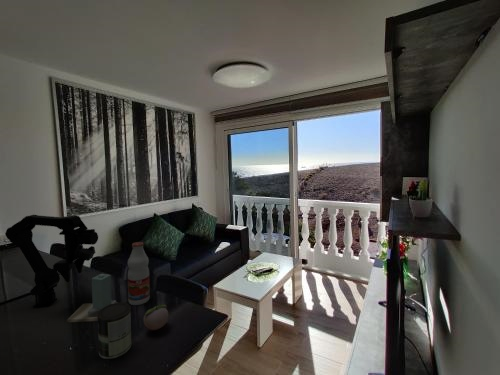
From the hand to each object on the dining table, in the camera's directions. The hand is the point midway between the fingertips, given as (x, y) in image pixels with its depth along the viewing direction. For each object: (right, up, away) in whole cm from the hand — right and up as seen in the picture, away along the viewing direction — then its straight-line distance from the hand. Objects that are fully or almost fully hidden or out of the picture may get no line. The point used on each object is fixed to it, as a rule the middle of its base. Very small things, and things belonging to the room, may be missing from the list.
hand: (74, 277), depth 115 cm
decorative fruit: (+44, -15, -16) cm, 49 cm away
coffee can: (+33, -16, -26) cm, 45 cm away
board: (+13, -14, -5) cm, 19 cm away
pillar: (+17, -10, -6) cm, 20 cm away
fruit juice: (+28, -13, +5) cm, 31 cm away
